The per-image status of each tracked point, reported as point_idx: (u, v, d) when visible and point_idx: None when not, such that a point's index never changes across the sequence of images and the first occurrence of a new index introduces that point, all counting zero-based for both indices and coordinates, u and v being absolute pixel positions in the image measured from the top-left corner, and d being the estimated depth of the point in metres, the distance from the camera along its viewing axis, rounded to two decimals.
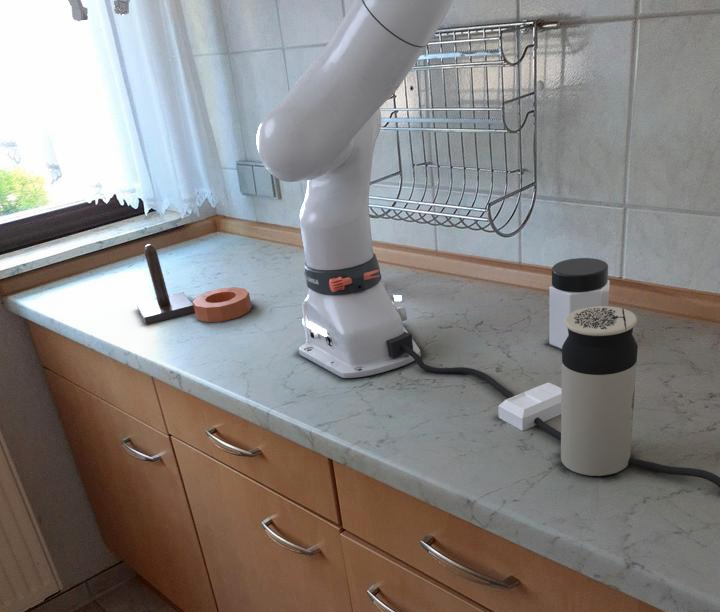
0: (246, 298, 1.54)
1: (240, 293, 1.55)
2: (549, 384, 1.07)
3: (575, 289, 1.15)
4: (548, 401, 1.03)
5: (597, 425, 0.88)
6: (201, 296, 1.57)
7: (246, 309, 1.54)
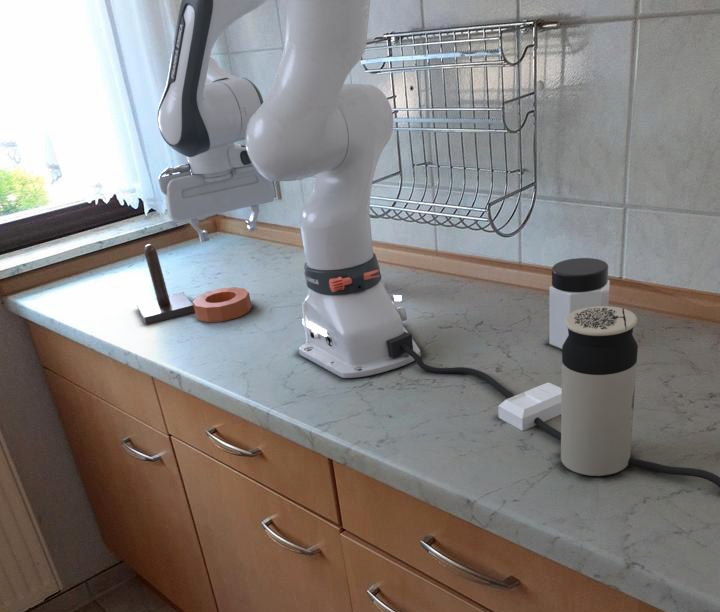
0: (246, 298, 1.54)
1: (240, 293, 1.55)
2: (549, 384, 1.07)
3: (575, 289, 1.15)
4: (548, 401, 1.03)
5: (597, 425, 0.88)
6: (201, 296, 1.57)
7: (246, 309, 1.54)
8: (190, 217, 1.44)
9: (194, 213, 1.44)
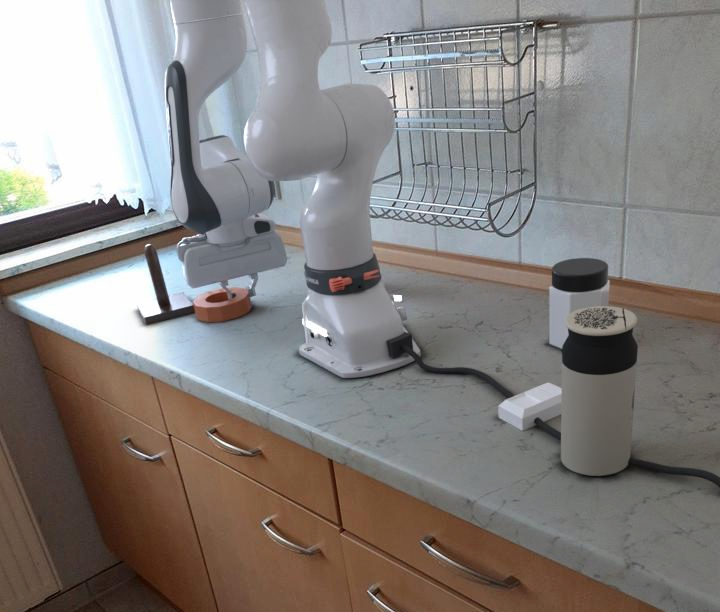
0: (246, 298, 1.54)
1: (240, 293, 1.55)
2: (549, 384, 1.07)
3: (575, 289, 1.15)
4: (548, 401, 1.03)
5: (597, 425, 0.88)
6: (201, 296, 1.57)
7: (246, 309, 1.54)
8: (206, 283, 1.51)
9: (210, 279, 1.51)
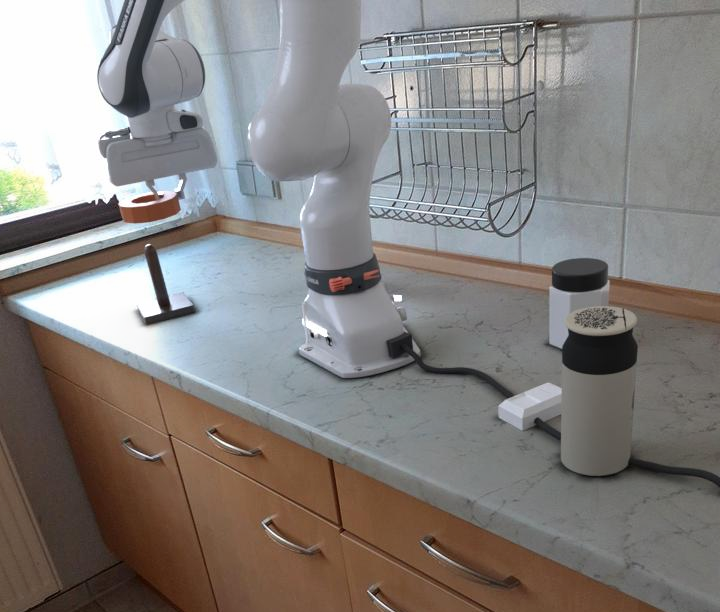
0: (174, 199, 1.48)
1: (168, 195, 1.49)
2: (549, 384, 1.07)
3: (575, 289, 1.15)
4: (548, 401, 1.03)
5: (597, 425, 0.88)
6: (128, 198, 1.51)
7: (174, 211, 1.48)
8: (130, 181, 1.45)
9: (134, 177, 1.45)
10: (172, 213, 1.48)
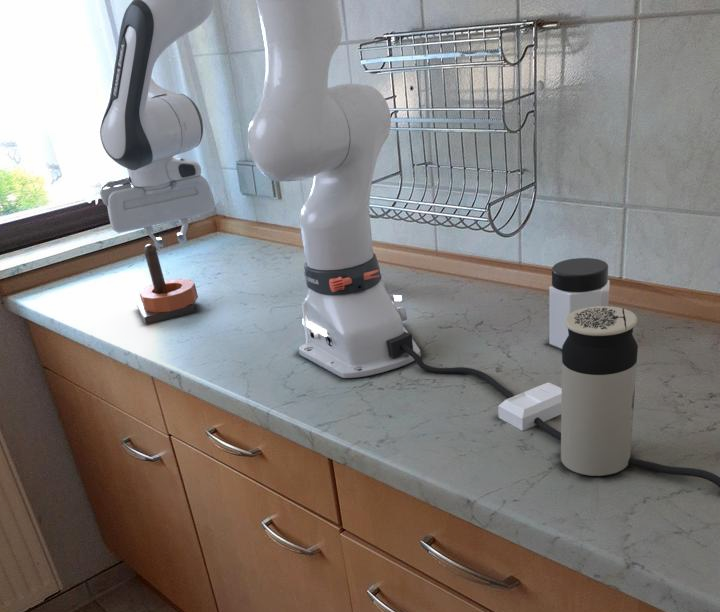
0: (192, 288, 1.58)
1: (186, 284, 1.60)
2: (549, 384, 1.07)
3: (575, 289, 1.15)
4: (548, 401, 1.03)
5: (597, 425, 0.88)
6: (148, 288, 1.61)
7: (192, 299, 1.58)
8: (132, 228, 1.50)
9: (135, 224, 1.50)
10: (191, 301, 1.58)
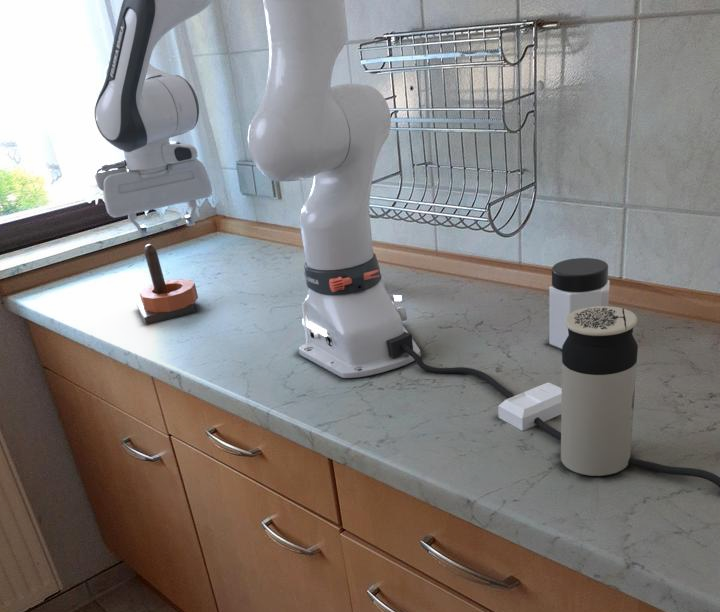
0: (192, 289, 1.58)
1: (186, 284, 1.60)
2: (549, 384, 1.07)
3: (575, 289, 1.15)
4: (548, 401, 1.03)
5: (597, 425, 0.88)
6: (148, 288, 1.61)
7: (192, 299, 1.58)
8: (127, 212, 1.48)
9: (131, 208, 1.48)
10: (191, 302, 1.58)
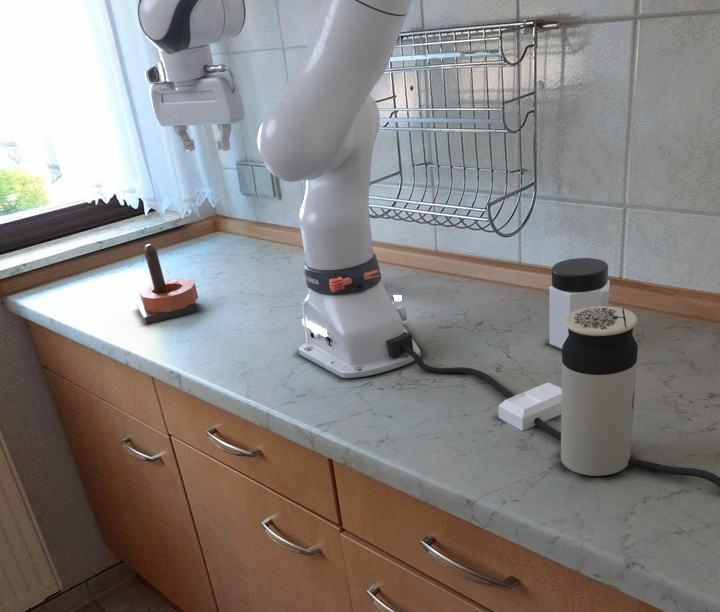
0: (192, 289, 1.58)
1: (186, 284, 1.60)
2: (549, 384, 1.07)
3: (575, 289, 1.15)
4: (548, 401, 1.03)
5: (597, 425, 0.88)
6: (148, 288, 1.61)
7: (192, 299, 1.58)
8: None
9: None
10: (191, 302, 1.58)
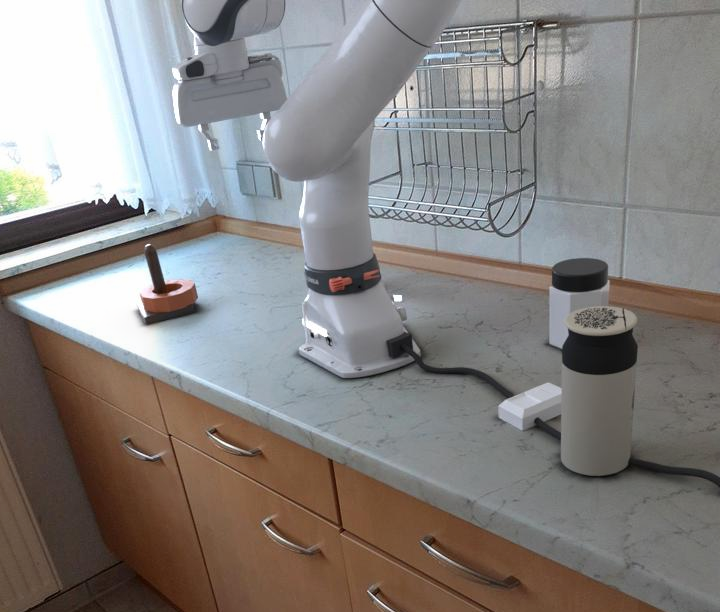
0: (192, 289, 1.58)
1: (186, 284, 1.60)
2: (549, 384, 1.07)
3: (575, 289, 1.15)
4: (548, 401, 1.03)
5: (597, 425, 0.88)
6: (148, 288, 1.61)
7: (192, 299, 1.58)
8: None
9: None
10: (191, 302, 1.58)
